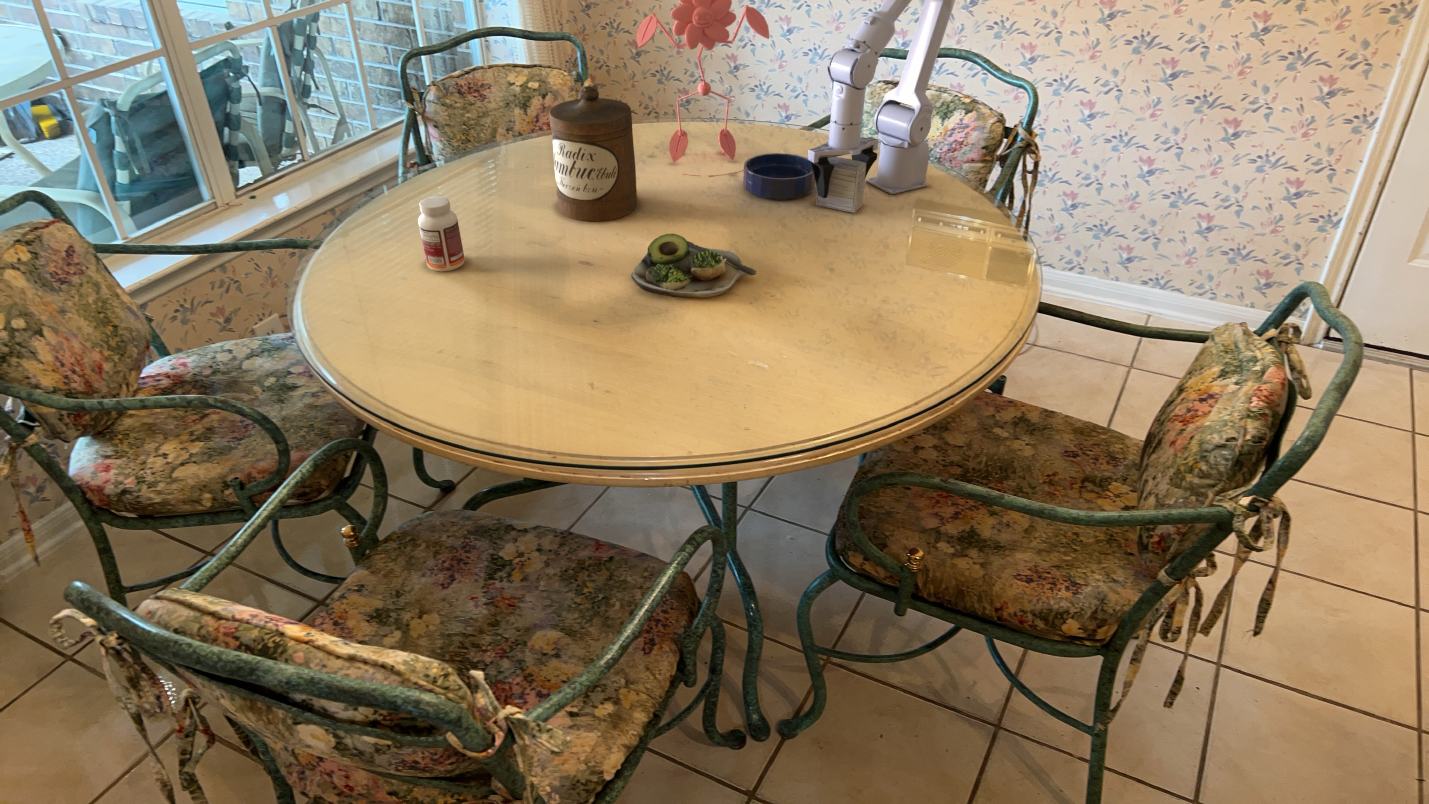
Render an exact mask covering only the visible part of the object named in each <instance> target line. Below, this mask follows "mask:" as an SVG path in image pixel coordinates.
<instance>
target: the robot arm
mask: <svg viewBox="0 0 1429 804" xmlns="http://www.w3.org/2000/svg"><path fill="white" fill-rule="evenodd" d="M912 1H913V0H883V1H882V3H881V5H880V7H879V9H878V10H877V11H872V12H869V13H868V14H867V15H866V17H865V18H864V19H863V21H862V23H861V24H860V25H859V27H858V28H857V30H856V31H855V33H854V34H853V35H852V37H851V38H850V40H849V41H848V43H847V44H846V46H845V48H841V49H839V50H837V51H835V52H834V53H833V55H832V56H831V58H830V60H829V64H828V66H826V73H827V78H828V79H829V82H830V87H829V89H830V91H831V93H832V96H831V106H830V107H831V109H830V118H829V119H830V120H829V131H828V132H829V133H828V141H826V142H825V143H822V144H820V145H818V146H815V147H812V148H808V151H807V153H808V154H807V159H808V163H809V165H810V167H811V169H812V172H813V174H814V178H815V186H816V194H817V193H818V195H819V196H820V197H822V198H827V195H828V190H829V181H830V177H831V174H832V171H833V169H834V167H835V166H834V165H832V164H830V163H829V161H828V158H832V157H841V156H847V155H851V160H857V161H862V162H865V163H866V172H865V179H866V178H867V175H868V173H869V171H870V169H871V168H872V166H873V165H874V163H875V162H876V161H877V160H878V163H877V170H876V171H877V173H876V176H874V177H871V178H867V179H866V182H867V183H869V184H871V185H873V186H874V187H876V188H878V189H880V190H882V191H884V192H886V193H888V194H889V195H895V194H899V193H904V192H908V191H912V190H916V189H920V188H921V189H922V188H924V187H928V186H929V182H927V181H926V180H927V174H928V167H929V161H930V148H929V144H928V142H927V141H926V139H927V137H928V136H929V133H930V131H931V129H932V116H933V112H934V109H935V108H934V105H933V103H932V102H931V100H930V98H929V97H928V96H927V94H926V92H927V89H928V86H929V82H930V81H931V77H932V74H933V70H934V67H935V64H936V61H937V58H938V55H939V52H940V49H941V46H942V43H943V39H944V38H945V37H944V36H945V34H946V31H947V28H948V25H949V21H950V18H951V15H952V12H953V9H954V7H955V2H956V0H924V1H923V5H922V8H921V10H920V14H919V18H918V21H917V24H916V27H915V30H914V33H913V37H912V40H911V43H910V47H909V49H908V53H907V56H906V59H905V61H904V65H903V68H902V72H901V75H900V79H899V81H898V84H897V86H896V87H894V88H892V89H891V90H889V91H887V92H885V93H884V95H883V99H882V101H881V103H880V105H879V107H878V108H877V109H876V111H875V114H874V118H873V127H874V130H875V132H876V133H877V134H878V135H877V138H878V139H877V138H876V137H873V136H869V137H868V136H867V137H862V128H863V117H864V107H865V98H866V90H867V86H869V85H870V83H871V82H873V80H874V77H875V74H876V70H877V66H878V65H879V61H880V59H879V57H880V56H881V55H882V53H883V52H884V50H885V49H886V47H887V46H888V44H889V43H890V41H891V40H892V39H893V37H894V36H895V33H896V26H895V23H896V21H897V20H898V19H899V17H900V16H901V15H902V14H903V12H904V11H905V10H906V8H907V7H908V6H909V5H910V4H911V2H912ZM902 104H905V105H907V106H905V105H902ZM909 106H910V107H909ZM911 107H912V108H911ZM879 140H880V148H879ZM878 149H879V155H878V153H877V152H875V151H877V150H878Z"/></svg>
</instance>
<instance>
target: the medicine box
mask: <svg viewBox="0 0 1429 804" xmlns="http://www.w3.org/2000/svg"><path fill="white" fill-rule="evenodd" d="M828 161H829V163H830V164H832V165H834V166H835V167H834V169H833V171H832V174H831V177H830V181H829V190H828V195H827V198H822V197H820V196H819V195H818V193H817V192H816V201H815V206H817V207H824V208H828V209H833V210H838V211H843V212H848V213H851V214H852V213H853V214H855V213H856V212H857V211H858V210H859V209H860V208H861V207H862V206H863V204H864V202H863V201H864V191H865V181H866V178H865V172H866V163H865V162H862V161H857V160H852V158H847V157H846V158H845V157H841V156H837V157H832V158H828Z"/></svg>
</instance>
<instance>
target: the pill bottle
mask: <svg viewBox="0 0 1429 804" xmlns="http://www.w3.org/2000/svg"><path fill="white" fill-rule="evenodd" d="M418 205H419V211H420V213H421V214H420V215H419V217H418V219H417V222H418V223H417V225H418V229H419V233H420V238H421V242H422V247H423V253H424V257H425V262H426V266H427V267H428V268H429V269H431V270H433V271H436V272H449V271H453V270H456V269H459V268H460V267H461V266H463V265H464V263H465V253H464V247H463V242H462V236H461V231H460V230H461V229H460V226H459V220H458V216H457V213H456V212H454V211H452V210H451V202H450V200H449V198H448V197H445V196H441V195H440V196H439V195H437V196H429V197H425V198H423V199H422V200H420V201H419V203H418Z"/></svg>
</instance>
